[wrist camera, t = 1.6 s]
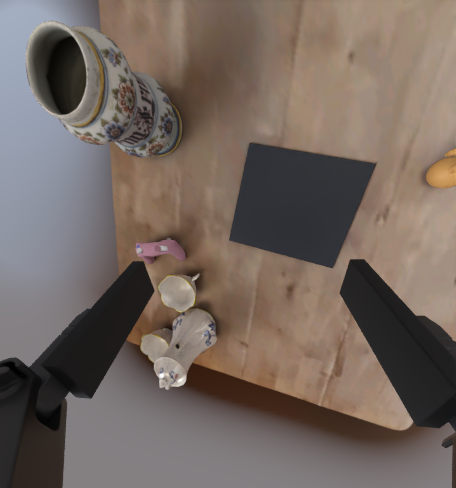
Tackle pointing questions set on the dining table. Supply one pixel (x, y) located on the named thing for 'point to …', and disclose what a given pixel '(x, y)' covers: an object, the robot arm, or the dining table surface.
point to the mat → (298, 202)
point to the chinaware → (179, 332)
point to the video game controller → (159, 250)
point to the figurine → (443, 172)
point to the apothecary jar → (99, 91)
